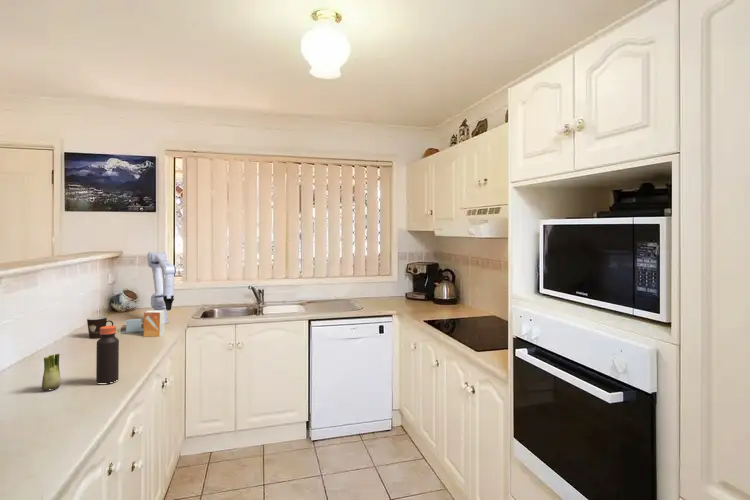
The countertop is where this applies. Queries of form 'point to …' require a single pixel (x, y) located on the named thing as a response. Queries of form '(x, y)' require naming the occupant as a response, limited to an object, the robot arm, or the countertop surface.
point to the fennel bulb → (51, 373)
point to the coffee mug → (96, 326)
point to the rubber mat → (132, 331)
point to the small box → (153, 323)
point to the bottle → (107, 356)
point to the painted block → (133, 325)
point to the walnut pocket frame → (125, 327)
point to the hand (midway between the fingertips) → (168, 309)
